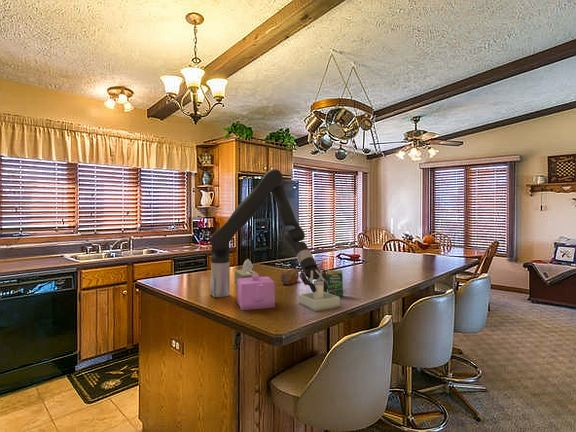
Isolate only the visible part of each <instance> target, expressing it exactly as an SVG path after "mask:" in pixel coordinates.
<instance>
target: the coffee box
mask: <svg viewBox="0 0 576 432" xmlns="http://www.w3.org/2000/svg"><path fill="white" fill-rule="evenodd" d="M326 274H327V277H328V280H327V286H328V289H327V292H326V293H329V294H332V295H335V296H338V297H340V298H341V297H344V287H343V286H344V285H343V282H344V281H343V277H344V276H343V270H341V269H339V270H326Z"/></svg>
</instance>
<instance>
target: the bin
mask: <svg viewBox="0 0 576 432" xmlns="http://www.w3.org/2000/svg"><path fill="white" fill-rule="evenodd" d="M313 297H314V293H313V291H311V292H306V293H299V294H298V297H297V298H298V299H297V301H298V305H300V306H302V307H304V308H306V309H308V310H310V311H313V312H318V311H320V312H321V311H323V310H324V311H325V310H330V309H335V308H339V307H341V306H340V304H341V303H340V302H341V301H340V299H341V296H340V297H339V296H335V295H332V294H329V293H327V292H324V291H323V299H321V300H313Z"/></svg>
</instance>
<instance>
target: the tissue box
mask: <svg viewBox="0 0 576 432" xmlns="http://www.w3.org/2000/svg"><path fill="white" fill-rule="evenodd" d="M253 268H254V265H253V263H252V262H251V260H250V259H249V258H247V259H245V261H244V262H243V265H242V269H235V270H234V284H235V285H236V286H237V279H238V278H252V275H259V276H260V273H257V272H256V271H254V270H253Z"/></svg>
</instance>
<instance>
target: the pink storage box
mask: <svg viewBox="0 0 576 432" xmlns="http://www.w3.org/2000/svg"><path fill="white" fill-rule="evenodd" d="M275 283H276V282H275V281H274V280H273V279H272V278H270V277H269V276H260V274H259V275H252V278H238V279H237V285H236V286H237V289H236V292H237V293H236V294H237V295H236V296H237V297H236V298H237V301H236V303H237V305H238V304H239V305H238V306H240V307H239V308H240V310H241V311H247V310H248V311H250V310H259V309H271V308H276V286H275V285H276V284H275Z"/></svg>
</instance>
